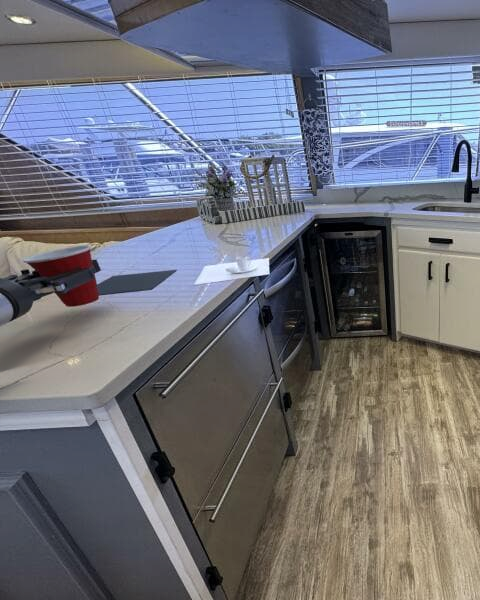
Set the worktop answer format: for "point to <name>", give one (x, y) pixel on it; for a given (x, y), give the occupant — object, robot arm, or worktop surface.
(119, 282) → the mat
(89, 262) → the plastic cup
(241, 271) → the teacup and saucer
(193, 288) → the worktop surface
